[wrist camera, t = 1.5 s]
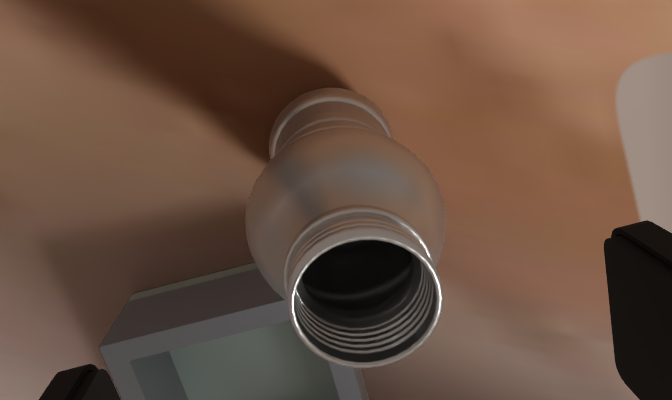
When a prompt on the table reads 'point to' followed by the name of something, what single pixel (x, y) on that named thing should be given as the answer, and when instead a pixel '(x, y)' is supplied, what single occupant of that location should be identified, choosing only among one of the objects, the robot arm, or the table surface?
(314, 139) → the plastic bottle
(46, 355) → the table surface
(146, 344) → the grey open box
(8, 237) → the table surface
